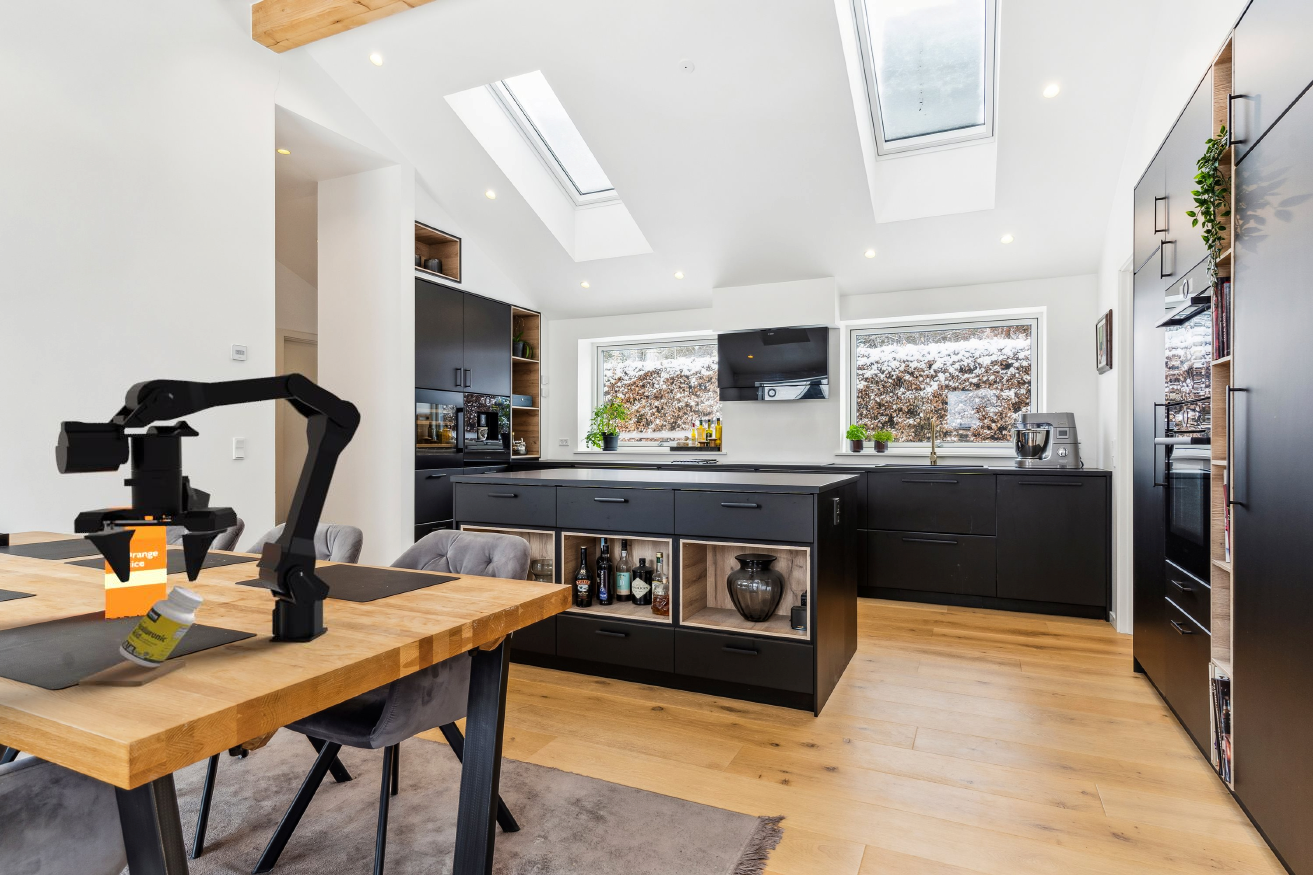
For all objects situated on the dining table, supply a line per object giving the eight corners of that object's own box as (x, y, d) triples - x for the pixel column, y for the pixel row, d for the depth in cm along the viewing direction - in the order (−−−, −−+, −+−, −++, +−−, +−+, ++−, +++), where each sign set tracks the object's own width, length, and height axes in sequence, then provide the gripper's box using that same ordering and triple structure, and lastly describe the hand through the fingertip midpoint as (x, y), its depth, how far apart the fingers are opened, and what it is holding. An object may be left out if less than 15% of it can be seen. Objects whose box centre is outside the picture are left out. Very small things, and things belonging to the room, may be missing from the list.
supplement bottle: (108, 648, 87) (161, 581, 90) (134, 647, 92) (183, 584, 95) (143, 669, 87) (195, 601, 90) (167, 667, 92) (216, 603, 95)
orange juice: (106, 613, 124) (106, 506, 124) (165, 606, 130) (165, 503, 130) (104, 622, 118) (104, 509, 118) (166, 614, 123) (166, 506, 123)
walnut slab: (185, 677, 93) (185, 659, 93) (141, 700, 85) (141, 680, 85) (127, 677, 93) (127, 659, 93) (78, 700, 85) (78, 680, 85)
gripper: (257, 466, 102) (259, 568, 102) (131, 467, 101) (133, 570, 101) (211, 470, 90) (213, 585, 91) (69, 472, 90) (71, 587, 90)
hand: (159, 581), depth 93 cm, fingers open, 9 cm apart
